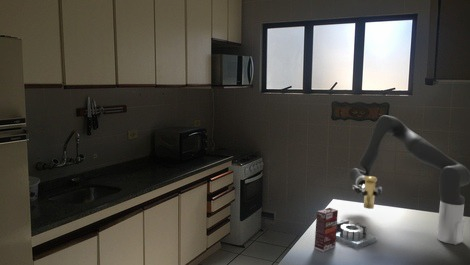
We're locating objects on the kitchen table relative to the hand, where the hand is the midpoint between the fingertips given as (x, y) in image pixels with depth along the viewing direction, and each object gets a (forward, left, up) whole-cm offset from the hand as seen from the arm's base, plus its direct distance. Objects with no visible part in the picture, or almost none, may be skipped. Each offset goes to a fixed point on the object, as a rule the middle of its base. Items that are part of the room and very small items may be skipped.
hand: (370, 194), depth 183 cm
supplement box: (-1, +31, -18) cm, 36 cm away
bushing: (+2, -2, -7) cm, 8 cm away
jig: (-1, +14, -18) cm, 22 cm away
